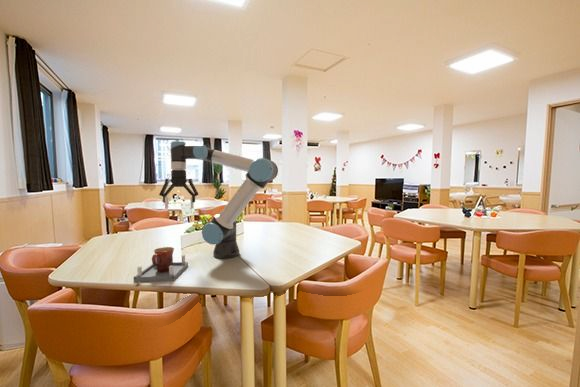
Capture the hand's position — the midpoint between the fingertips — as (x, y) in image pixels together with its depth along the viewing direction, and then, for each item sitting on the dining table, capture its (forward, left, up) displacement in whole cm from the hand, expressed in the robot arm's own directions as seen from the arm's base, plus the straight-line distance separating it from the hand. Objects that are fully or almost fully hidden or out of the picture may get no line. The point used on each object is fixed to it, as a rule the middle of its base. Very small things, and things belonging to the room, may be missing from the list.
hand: (179, 208), depth 144 cm
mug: (+1, +21, -28) cm, 35 cm away
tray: (+1, +21, -29) cm, 36 cm away
